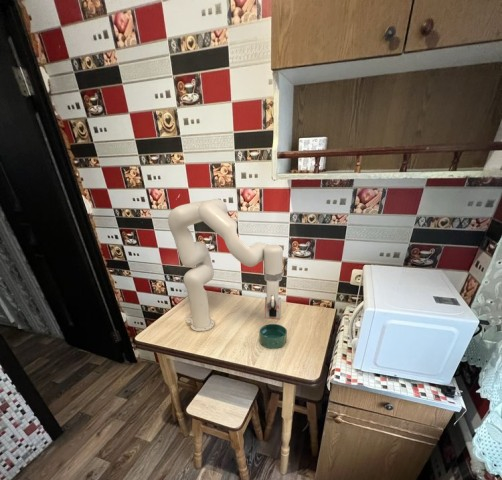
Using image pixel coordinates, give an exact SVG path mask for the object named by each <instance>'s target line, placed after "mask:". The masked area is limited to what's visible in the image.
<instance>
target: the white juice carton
mask: <svg viewBox="0 0 502 480" xmlns="http://www.w3.org/2000/svg"><path fill="white" fill-rule="evenodd" d="M274 298H275V297H274ZM274 302H275V301H274ZM274 305H275V304H274ZM269 308H270V303H268V304H267V303H266V296H265V300H264V319H268V320H281V317H282V298H281V297H278V302H277V304H276V317H269Z"/></svg>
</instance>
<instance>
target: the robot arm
mask: <svg viewBox="0 0 502 480" xmlns="http://www.w3.org/2000/svg"><path fill="white" fill-rule="evenodd" d="M202 222H203V223H204V224H205V225H207V226H208V227H209V228H210V229H211V230H213V232H214V233H216V234H217V235H218V236H219V237H220V238H222V239H223V241H224V243H225V246H226V248H227V249H228V252H229V253H230V255H232V257H234V259H236V260H237V261H238V262H239V263H240V264H242V265H243V266H246V267H248V268H253V267H255V266H257V265H258V264H259V263H260V262H263V271H264V272H263V276H264V277H263V278H264V279H263V280H264V281H265V282H266V285H265V286H266V290H265V293H266V296H265V297H266V303H267V304H268V303H270V308H269V317H276V304H277V302H278V298H279V294H280V293H279V292H280V282H281V281H283V259H284V257H283V256H284V255H283V254H284V250H283V247H282V246H281V245H279V244H269V243H265V242H261V241H259V242H254V243H253V244H251V245H250V246H248V245H247V244H246V243H245V242H243V240H242V239H241V238H240V236H239V234H238V231H237V229H238V222H237V221H235V220H234V219H233V218H232V217H231V216H230V215H229V214H228V206H227V204H226V203H225V201H224V200H222V199H219V198H213V199H206V200H199V201H194V202H193V201H192V202H189V203H184V204H181V205H178V206H176V207H174V208H173V209H172V210H170V211H169V214H168V217H167V223H168V228H169V231H170V232H171V235H172V237H173V240H174V243H175V247H176V251H177V254H178V257H179V259H180V263H181V265H182V266H184V267H185V268H191V267H192V268H191V269H189V270H187V272H185V273H184V275H183V279H182V280H183V284H184V286H185V289H186V293H187V297H188V302H189V307H190V313H191V317H185V318H184V321H185V323H186V324H190V329H191V330H193V331H196V332H206V331H209V330H211V329H213V327H214V326H215V322H214V320H213V319H212V318H211V313H210V305H209V297H208V293H207V291H206V289H205V287H204V286H205V285H206V284H207V283H209V282H210V281H211V280H213V278H214V277H215V271H214V266H213V261H212V258H211V254H210V250H209V248H208V247H207V244H205V243H204V242H202V241H195V239H194V236H193V234H192V231H191V230H190V229H189V228H188V227H189V226H193V225H197V224H199V223H202ZM274 297H275V298H274ZM274 301H275V302H274ZM274 304H275V305H274Z"/></svg>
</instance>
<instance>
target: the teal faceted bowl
mask: <svg viewBox="0 0 502 480" xmlns="http://www.w3.org/2000/svg"><path fill="white" fill-rule="evenodd" d="M258 333H259V335H258V337H259V339H258V340H259V343H260V345H261V346H262V347H265V348H267V349H280V348H283V347H284V346H285V345H286V344H287V341H288V339H287V337H288V330H287V328H286V327H285V326H284V325H280V324H277V323H269V324H265V325H263V326H261V327H260V328H259V332H258Z"/></svg>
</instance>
